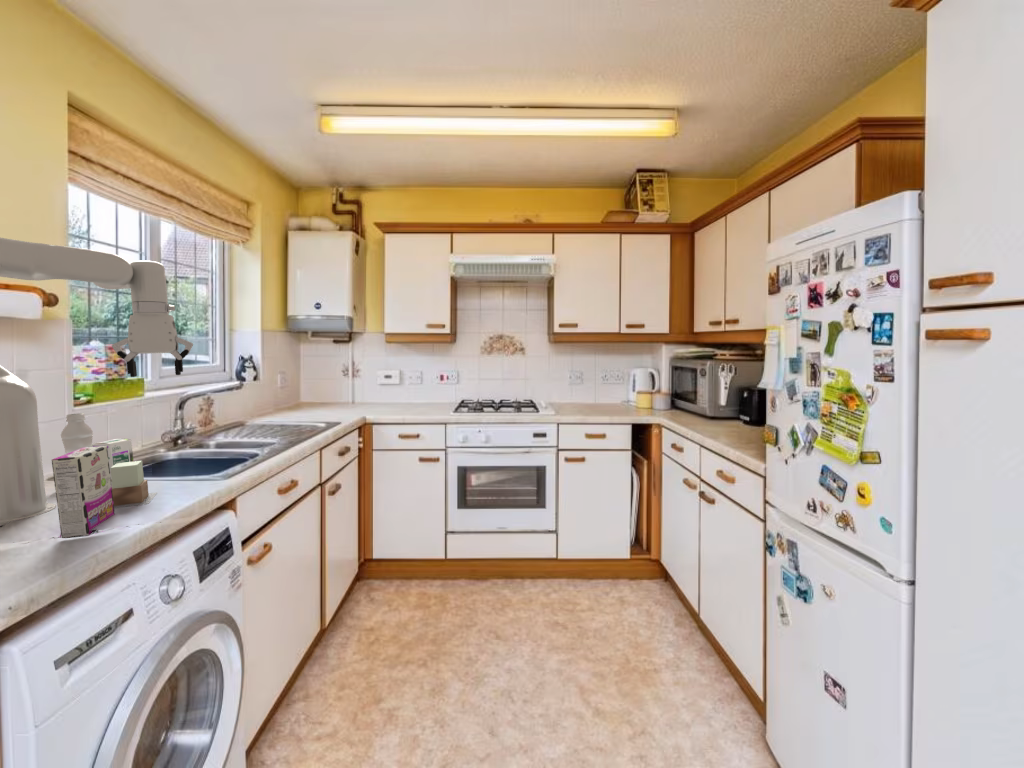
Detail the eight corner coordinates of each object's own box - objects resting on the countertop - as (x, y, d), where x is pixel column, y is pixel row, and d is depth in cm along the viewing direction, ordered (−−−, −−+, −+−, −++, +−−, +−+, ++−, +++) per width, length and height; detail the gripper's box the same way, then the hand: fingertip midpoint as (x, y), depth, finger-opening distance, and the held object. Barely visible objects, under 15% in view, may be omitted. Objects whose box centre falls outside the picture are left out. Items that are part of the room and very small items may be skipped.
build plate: (100, 514, 112) (100, 509, 111) (113, 501, 120) (113, 497, 120) (148, 507, 115) (148, 503, 115) (158, 496, 124) (157, 492, 124)
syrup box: (115, 500, 121) (110, 443, 120) (96, 499, 123) (90, 442, 121) (137, 493, 127) (132, 438, 126) (118, 492, 128) (113, 438, 127)
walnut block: (111, 506, 114) (109, 489, 114) (118, 499, 119) (117, 483, 119) (142, 502, 116) (141, 485, 116) (148, 495, 122) (147, 479, 121)
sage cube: (118, 483, 119) (116, 463, 118) (143, 480, 121) (142, 460, 120) (112, 488, 114) (110, 467, 114) (138, 485, 116) (136, 464, 116)
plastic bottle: (96, 485, 135) (89, 414, 133) (64, 490, 131) (56, 416, 130) (100, 480, 140) (93, 411, 139) (68, 485, 137) (61, 414, 135)
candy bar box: (89, 520, 108) (81, 447, 106) (116, 517, 109) (109, 445, 108) (58, 539, 97) (49, 458, 96) (88, 536, 98) (80, 456, 97)
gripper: (192, 311, 134) (197, 373, 135) (113, 310, 126) (119, 376, 128) (187, 309, 127) (193, 374, 129) (104, 308, 120) (110, 378, 121)
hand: (156, 375), depth 128 cm, fingers open, 9 cm apart
